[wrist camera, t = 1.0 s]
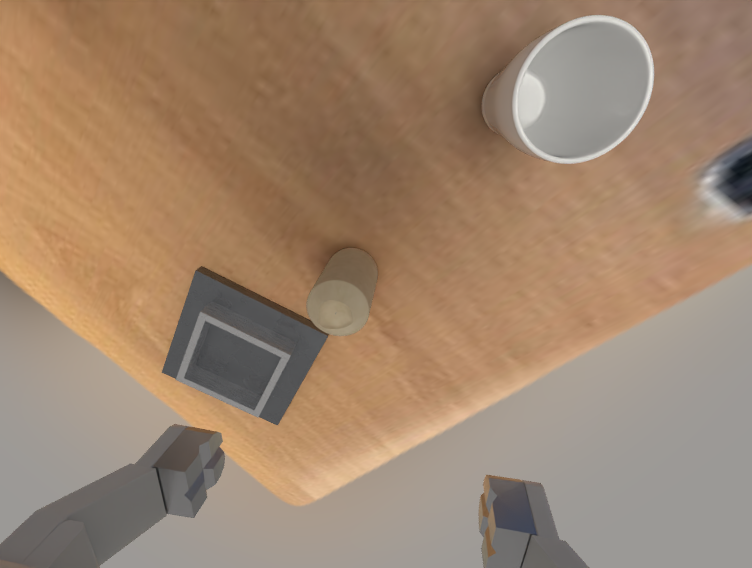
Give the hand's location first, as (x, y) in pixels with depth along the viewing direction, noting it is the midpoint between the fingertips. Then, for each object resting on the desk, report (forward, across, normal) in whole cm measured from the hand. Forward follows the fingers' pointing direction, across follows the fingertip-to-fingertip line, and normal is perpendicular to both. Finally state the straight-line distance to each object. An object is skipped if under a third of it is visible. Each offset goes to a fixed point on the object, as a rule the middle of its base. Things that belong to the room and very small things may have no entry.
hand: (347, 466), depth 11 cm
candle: (+29, +6, +5) cm, 30 cm away
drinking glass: (+29, -8, -12) cm, 32 cm away
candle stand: (+28, +19, +16) cm, 38 cm away
